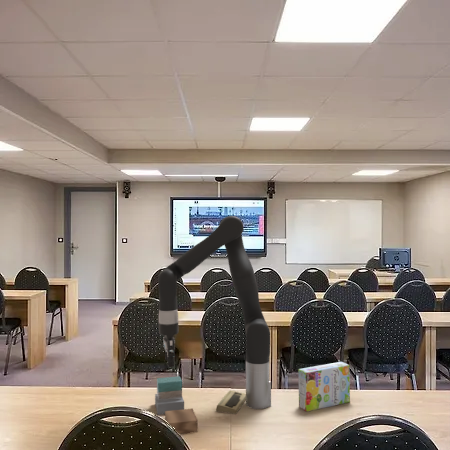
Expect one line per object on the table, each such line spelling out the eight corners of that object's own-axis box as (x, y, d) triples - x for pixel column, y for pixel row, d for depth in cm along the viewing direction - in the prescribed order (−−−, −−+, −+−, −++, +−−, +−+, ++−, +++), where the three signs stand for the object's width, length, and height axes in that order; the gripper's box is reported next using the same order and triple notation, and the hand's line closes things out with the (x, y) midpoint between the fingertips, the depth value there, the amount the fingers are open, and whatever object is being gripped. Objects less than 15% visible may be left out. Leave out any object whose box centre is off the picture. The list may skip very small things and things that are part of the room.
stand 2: (192, 419, 162) (192, 408, 162) (197, 431, 152) (197, 420, 152) (165, 422, 160) (165, 411, 160) (168, 435, 150) (168, 423, 150)
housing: (179, 394, 176) (179, 376, 176) (182, 399, 170) (182, 381, 170) (156, 396, 174) (156, 378, 173) (158, 401, 168) (158, 383, 168)
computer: (236, 415, 167) (236, 406, 167) (215, 412, 169) (215, 403, 169) (247, 399, 182) (247, 391, 182) (228, 397, 184) (228, 389, 184)
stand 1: (180, 401, 178) (180, 391, 178) (184, 412, 168) (184, 401, 168) (155, 404, 176) (155, 394, 176) (157, 414, 166) (157, 404, 166)
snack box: (341, 397, 183) (341, 360, 182) (350, 402, 177) (350, 364, 177) (297, 406, 173) (297, 368, 173) (306, 412, 168) (306, 372, 168)
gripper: (180, 324, 166) (181, 368, 166) (175, 316, 180) (176, 357, 180) (160, 326, 164) (161, 370, 164) (156, 318, 178) (157, 358, 178)
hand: (169, 363), depth 172 cm, fingers open, 8 cm apart
